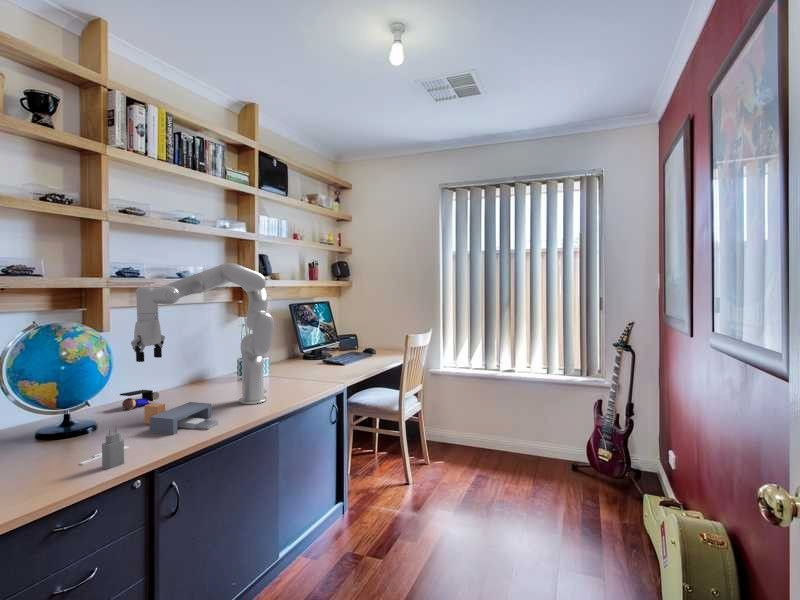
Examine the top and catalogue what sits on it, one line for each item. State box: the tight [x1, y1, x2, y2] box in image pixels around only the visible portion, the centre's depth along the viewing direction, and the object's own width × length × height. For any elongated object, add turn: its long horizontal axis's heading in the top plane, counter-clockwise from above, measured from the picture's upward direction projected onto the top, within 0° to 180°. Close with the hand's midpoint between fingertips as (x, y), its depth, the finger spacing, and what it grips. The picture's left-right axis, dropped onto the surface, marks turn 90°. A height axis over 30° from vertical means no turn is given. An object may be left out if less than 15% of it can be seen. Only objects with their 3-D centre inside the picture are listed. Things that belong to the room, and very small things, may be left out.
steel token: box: [195, 419, 219, 431], centre depth 171 cm, size 6×6×2 cm
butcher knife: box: [79, 445, 130, 466], centre depth 142 cm, size 5×15×1 cm, turn 158°
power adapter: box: [101, 424, 125, 470], centre depth 134 cm, size 3×5×12 cm, turn 156°
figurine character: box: [119, 389, 160, 411], centre depth 199 cm, size 7×8×15 cm
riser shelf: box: [149, 401, 212, 435], centre depth 174 cm, size 22×10×6 cm, turn 168°
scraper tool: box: [143, 402, 205, 429], centre depth 174 cm, size 6×23×7 cm, turn 78°
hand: (149, 359), depth 181 cm, fingers open, 9 cm apart
